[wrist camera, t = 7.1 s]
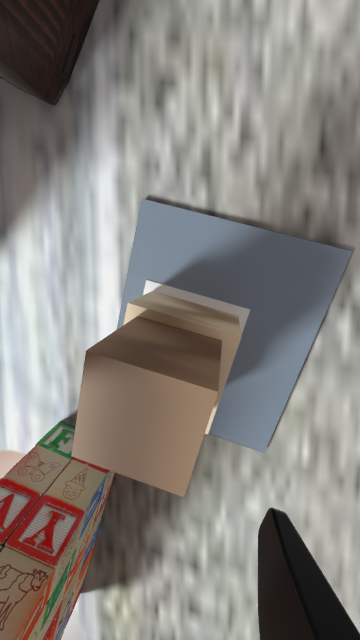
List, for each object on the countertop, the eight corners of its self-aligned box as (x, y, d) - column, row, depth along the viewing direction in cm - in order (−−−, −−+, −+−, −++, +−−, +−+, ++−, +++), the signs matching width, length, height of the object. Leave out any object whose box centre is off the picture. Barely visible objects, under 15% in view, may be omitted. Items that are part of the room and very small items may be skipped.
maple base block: (238, 315, 17) (241, 336, 12) (212, 392, 18) (207, 434, 14) (152, 290, 17) (127, 302, 13) (135, 367, 19) (108, 400, 15)
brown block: (222, 340, 13) (218, 391, 8) (199, 414, 14) (184, 497, 9) (137, 315, 13) (86, 350, 8) (123, 389, 14) (71, 456, 10)
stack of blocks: (82, 593, 28) (-23, 836, 16) (31, 570, 29) (-104, 787, 17) (124, 444, 22) (4, 662, 10) (59, 418, 23) (-125, 595, 11)
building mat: (349, 251, 15) (353, 251, 15) (263, 449, 19) (264, 453, 19) (143, 199, 16) (141, 198, 16) (106, 395, 21) (103, 398, 20)
